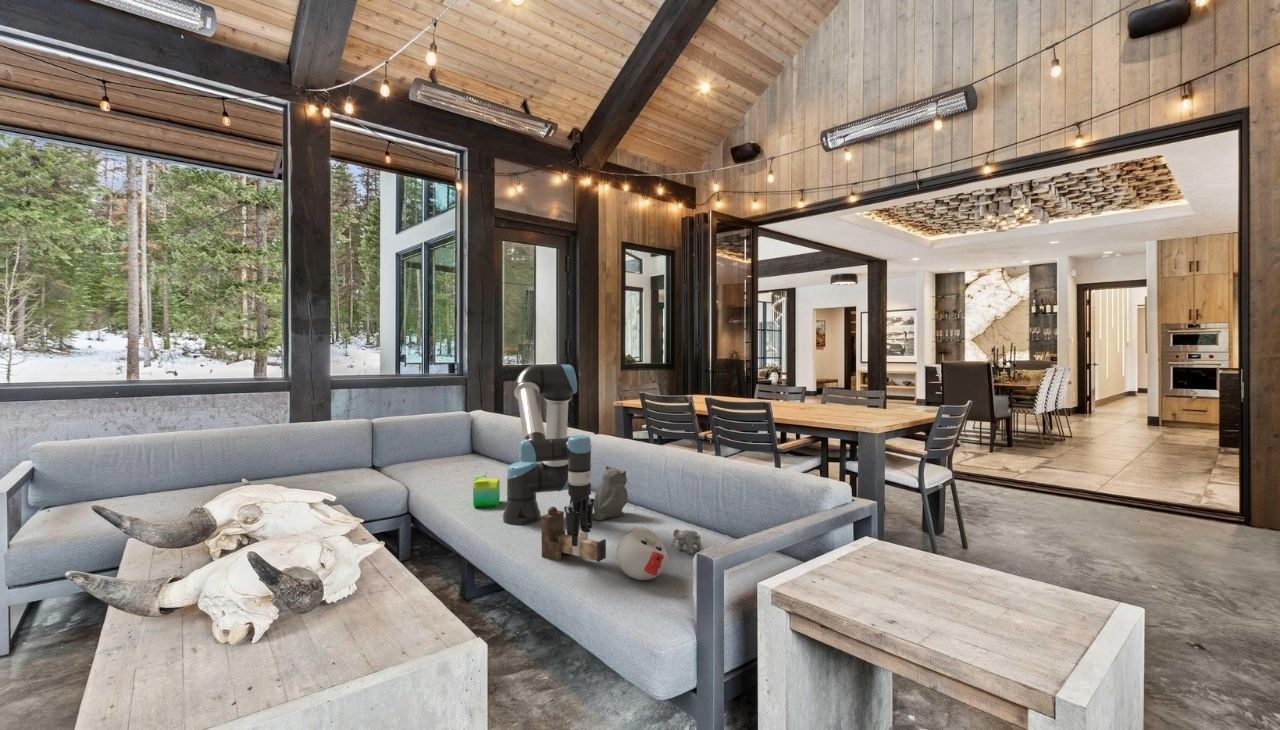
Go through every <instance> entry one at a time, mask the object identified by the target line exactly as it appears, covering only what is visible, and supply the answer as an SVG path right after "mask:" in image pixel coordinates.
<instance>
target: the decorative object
mask: <svg viewBox="0 0 1280 730" xmlns="http://www.w3.org/2000/svg"><path fill="white" fill-rule="evenodd" d="M662 542H663V541H662V540H661V538H659V536H658V535H657V534H656V533H655V532H654V531H653V530H652V529H650V528H647V527H644V526H643V527H642V526H637V527H634V528H631V529H629V530H627V531H626V532H625V533H624V534H623V535H622V536H621V537H620V539H619V541H618V543H617V547H616V553H615V554H616V560H617V563H618V565H619V567H620V568H621V570H622V571H623V572H624V573H625V574H626V575H627V576H629V577H631V578H632V579H635V580H639V581H649V580H652V579H655V578H656V577H658V576H660V574H662V572H663V571H664V570H665V569H666V567H667V564H668V561H669V555H668V553H667V551H666V548H665V546H664V544H663V543H662Z"/></svg>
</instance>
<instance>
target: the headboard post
mask: <svg viewBox="0 0 1280 730" xmlns="http://www.w3.org/2000/svg"><path fill="white" fill-rule="evenodd" d="M564 513H565V511H564V510H558V508H556V507H555V506H550V507H549V508H548V510H547V513H545V514H543V515H541V518H540V520H541V521H540V522H541V557H542V558H544V559H549V560H553V561H557V562H560V561H562V554H566V555H569V556H572V555H571V554H567V553H563V552H561V542H557V541H555V534H556V533H558V532H561V531H565V529H564V527H565V523H564V521H565V520H564V519H565V517H564Z"/></svg>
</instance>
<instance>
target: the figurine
mask: <svg viewBox="0 0 1280 730" xmlns="http://www.w3.org/2000/svg"><path fill="white" fill-rule="evenodd" d="M605 469H606V471H605V472H604V473H603V475H602V478H601V482H600V483H599V484H598V486H597V488H596V491H595V494H594V498H593V499H594V504H593V518H592V520H596V521H603V520H605V519H614V518H619V517H622V516H624V515H625V513H624V511H623V508H624V507H625V506H626V505H627V503H628V500H629V495H628V490H627V488H626V484H627V481H628V478H627V471H626V470H620V469H618V468H615V467H611V466H608V465H606V466H605Z"/></svg>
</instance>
